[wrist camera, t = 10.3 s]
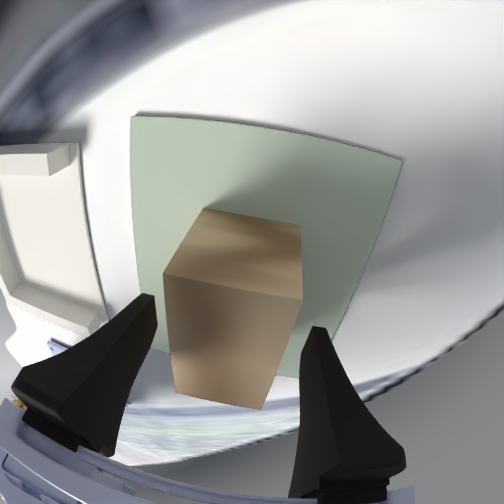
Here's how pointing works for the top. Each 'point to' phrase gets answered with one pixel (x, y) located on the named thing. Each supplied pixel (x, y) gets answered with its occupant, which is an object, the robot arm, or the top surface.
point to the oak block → (232, 305)
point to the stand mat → (259, 205)
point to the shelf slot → (47, 237)
